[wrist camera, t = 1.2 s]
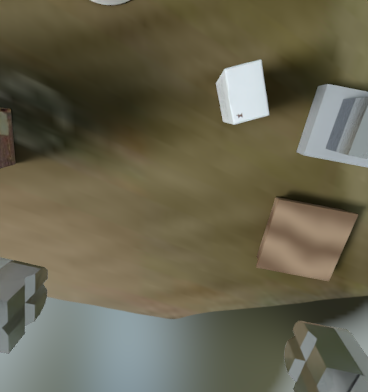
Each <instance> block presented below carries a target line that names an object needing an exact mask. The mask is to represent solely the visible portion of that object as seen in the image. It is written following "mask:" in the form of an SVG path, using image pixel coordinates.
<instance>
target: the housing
mask: <svg viewBox="0 0 368 392" xmlns="http://www.w3.org/2000/svg"><path fill="white" fill-rule="evenodd" d="M325 149H328V150H331V151H335V152H338V153H342V154H345V155H349V156H354V157H359V158H364V159H368V97H362V98H351V99H343V101H342V104H341V107H340V110H339V112H338V115H337V118H336V121H335V123H334V126H333V129H332V132H331V134H330V137H329V140H328V143H327V145H326V148H325Z"/></svg>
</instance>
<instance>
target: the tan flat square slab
mask: <svg viewBox="0 0 368 392" xmlns="http://www.w3.org/2000/svg"><path fill="white" fill-rule="evenodd" d="M357 217H358V214H357V213H353V212H347V211H345V210H341V209H336V208H331V207H326V206H321V205H315V204H310V203H305V202H300V201H294V200H289V199H284V198H279V197H276V198H275V201H274V204H273V207H272V210H271V213H270V216H269V219H268V223H267V226H266V229H265V232H264V235H263V238H262V241H261V244H260V248H259V251H258V254H257V258H258V261H257V264H256V267H257V268H262V269H267V270H272V271H278V272H283V273H288V274H294V275H299V276H304V277H309V278H315V279H320V280H325V281H329V280H330V278H331V275H332V273H333V271H334V269H335V266H336V264H337V262H338V259H339V257H340V255H341V253H342V250H343V248H344V246H345V244H346V241H347V239H348V237H349V235H350V232H351V230H352V228H353V226H354V223H355V221H356V219H357Z"/></svg>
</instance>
